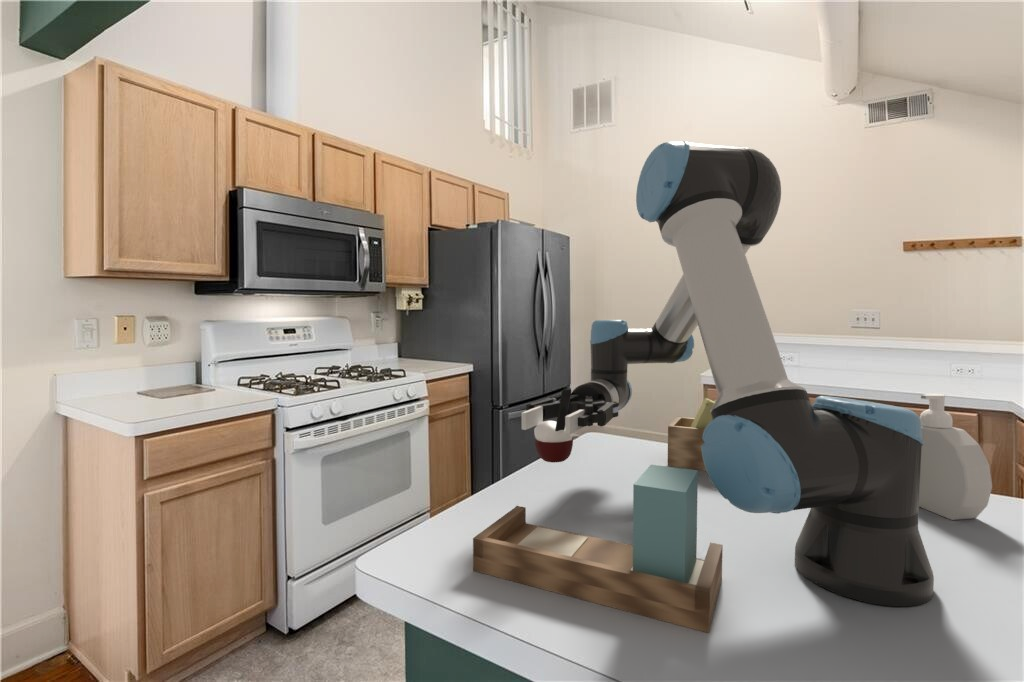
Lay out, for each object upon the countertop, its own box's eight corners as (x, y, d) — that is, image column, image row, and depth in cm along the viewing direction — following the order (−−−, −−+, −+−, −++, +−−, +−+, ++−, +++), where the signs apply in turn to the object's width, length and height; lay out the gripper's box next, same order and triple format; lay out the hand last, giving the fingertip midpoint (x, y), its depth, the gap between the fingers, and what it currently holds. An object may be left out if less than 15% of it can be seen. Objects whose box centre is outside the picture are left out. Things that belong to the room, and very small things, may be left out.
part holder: (801, 468, 115) (802, 427, 115) (802, 483, 105) (803, 439, 105) (677, 453, 128) (677, 416, 127) (667, 466, 118) (668, 426, 117)
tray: (721, 578, 69) (722, 544, 68) (708, 632, 57) (709, 592, 57) (517, 534, 83) (516, 505, 82) (473, 570, 71) (473, 538, 71)
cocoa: (534, 456, 91) (529, 386, 91) (570, 453, 91) (565, 384, 91) (539, 469, 82) (533, 392, 81) (579, 466, 82) (574, 389, 82)
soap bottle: (879, 492, 100) (883, 388, 99) (904, 490, 101) (908, 387, 100) (963, 526, 85) (969, 403, 83) (991, 524, 85) (997, 402, 84)
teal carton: (696, 561, 69) (697, 470, 68) (684, 594, 61) (685, 492, 60) (648, 551, 72) (649, 464, 71) (631, 581, 64) (632, 484, 63)
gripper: (644, 424, 98) (606, 454, 77) (547, 416, 107) (490, 440, 86) (644, 384, 97) (606, 403, 77) (546, 379, 106) (489, 395, 86)
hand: (545, 423), depth 82 cm, fingers closed on cocoa, 7 cm apart
